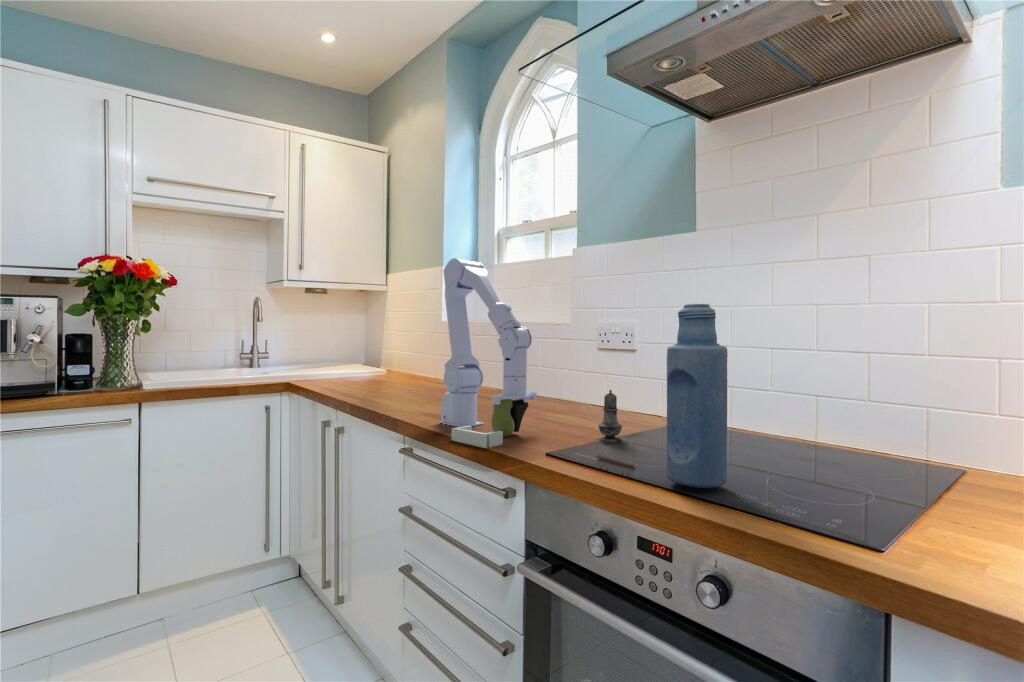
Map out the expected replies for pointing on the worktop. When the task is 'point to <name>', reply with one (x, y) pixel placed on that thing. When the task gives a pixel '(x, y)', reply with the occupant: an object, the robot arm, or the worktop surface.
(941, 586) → the worktop surface
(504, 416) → the pear
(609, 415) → the salt shaker
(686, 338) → the bottle
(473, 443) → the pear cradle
